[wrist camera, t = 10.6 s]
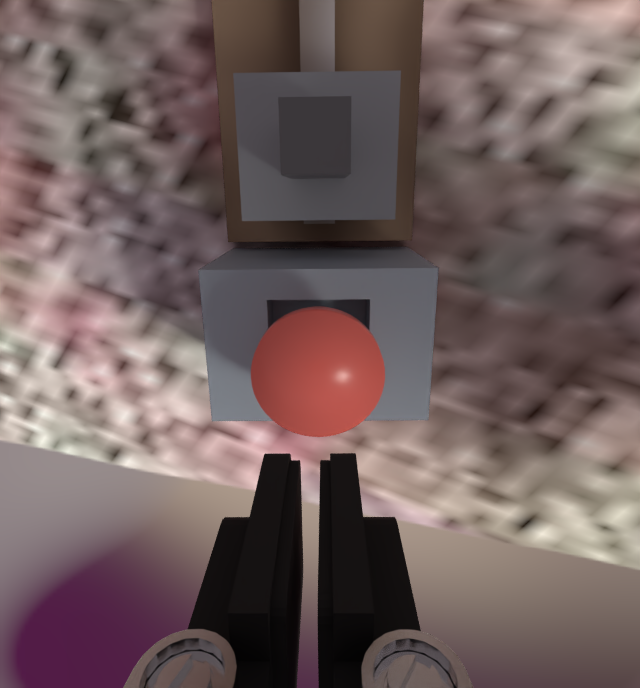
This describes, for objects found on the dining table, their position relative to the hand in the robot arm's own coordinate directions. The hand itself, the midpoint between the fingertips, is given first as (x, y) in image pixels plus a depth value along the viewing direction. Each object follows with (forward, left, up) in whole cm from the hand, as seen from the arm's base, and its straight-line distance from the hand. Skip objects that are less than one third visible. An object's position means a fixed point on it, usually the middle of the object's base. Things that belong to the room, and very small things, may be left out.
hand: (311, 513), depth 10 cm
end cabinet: (0, 0, -19) cm, 19 cm away
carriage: (0, -8, -17) cm, 19 cm away
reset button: (0, 0, -12) cm, 12 cm away
